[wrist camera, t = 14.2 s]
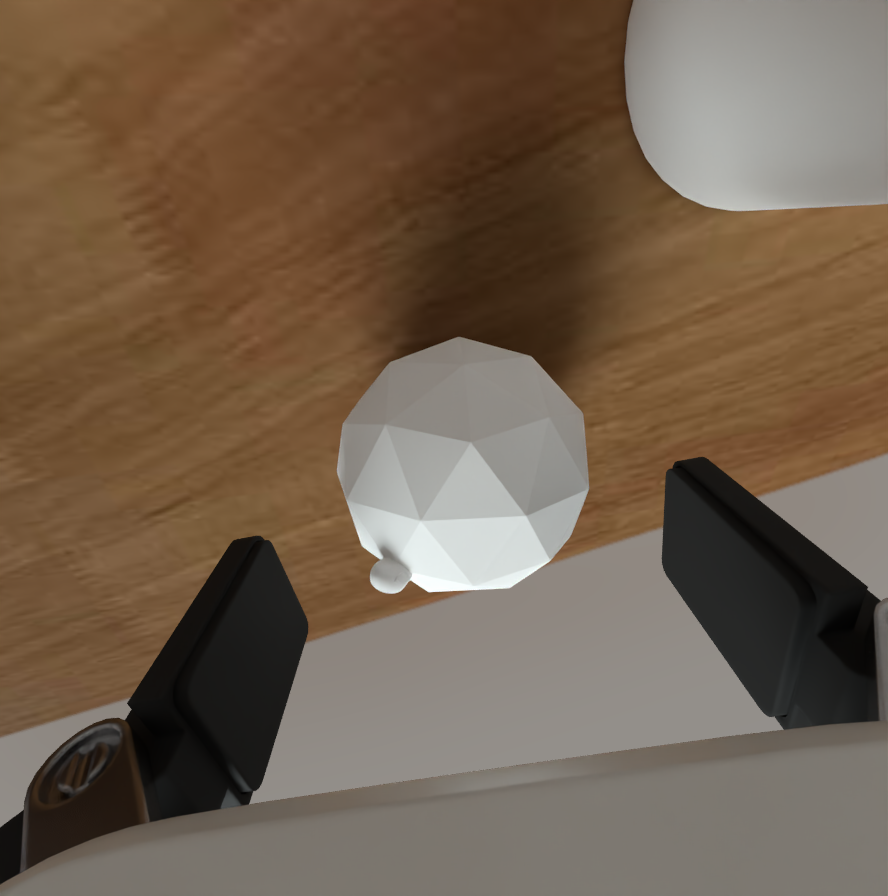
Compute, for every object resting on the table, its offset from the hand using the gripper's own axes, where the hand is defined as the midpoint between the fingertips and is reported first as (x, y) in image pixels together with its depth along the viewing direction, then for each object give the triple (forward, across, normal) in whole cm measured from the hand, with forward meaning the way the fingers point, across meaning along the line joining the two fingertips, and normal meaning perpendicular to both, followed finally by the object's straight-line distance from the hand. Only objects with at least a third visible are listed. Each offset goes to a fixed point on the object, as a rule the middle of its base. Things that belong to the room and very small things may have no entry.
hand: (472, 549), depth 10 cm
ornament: (+7, 0, -1) cm, 7 cm away
